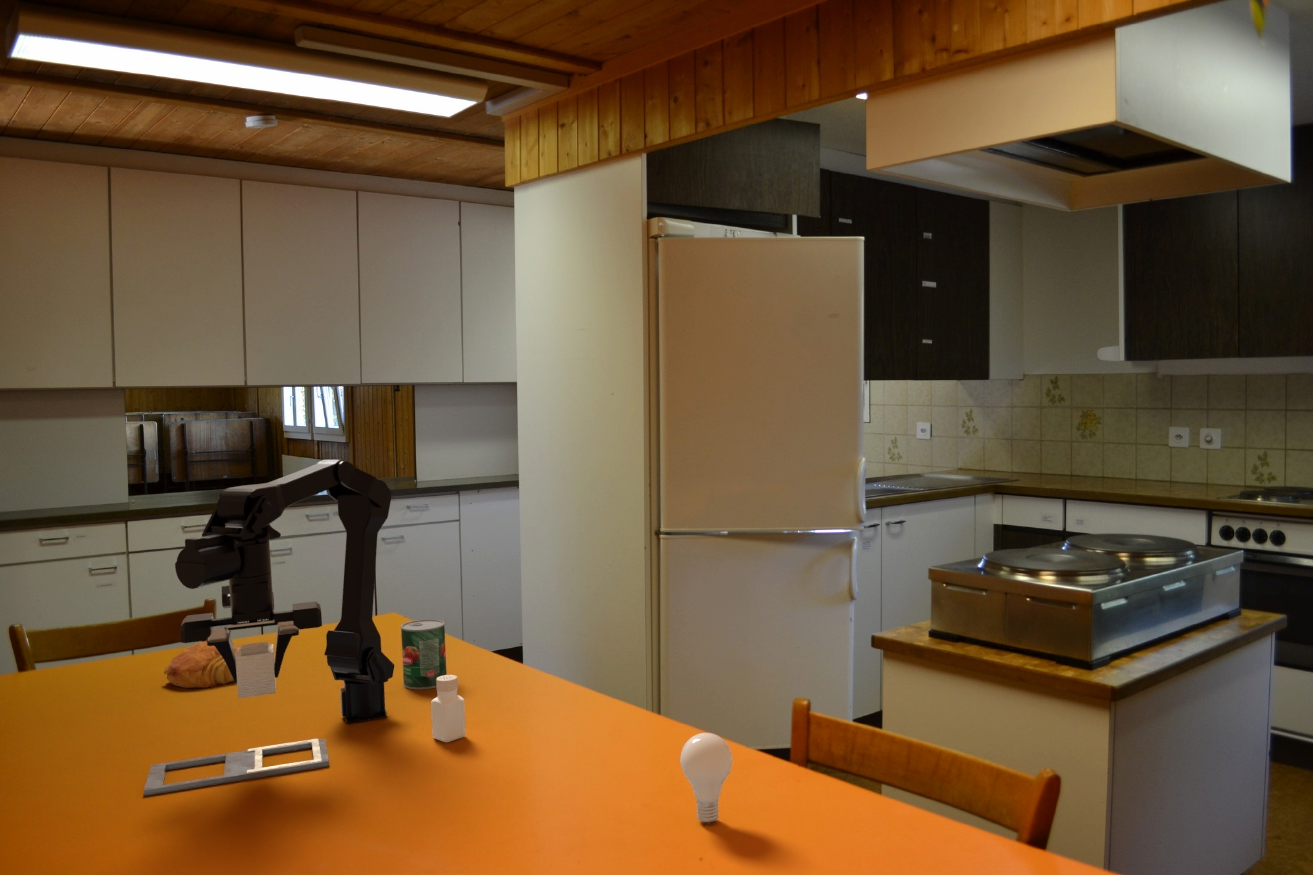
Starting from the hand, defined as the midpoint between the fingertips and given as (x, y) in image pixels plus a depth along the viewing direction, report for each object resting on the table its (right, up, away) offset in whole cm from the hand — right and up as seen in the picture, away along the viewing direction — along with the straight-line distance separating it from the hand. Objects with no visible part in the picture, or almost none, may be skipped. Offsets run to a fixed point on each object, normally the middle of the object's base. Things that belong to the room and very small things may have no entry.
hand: (256, 679), depth 144 cm
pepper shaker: (+26, -12, +10) cm, 30 cm away
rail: (-2, -13, -1) cm, 13 cm away
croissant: (-28, -11, +46) cm, 55 cm away
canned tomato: (+16, -10, +39) cm, 43 cm away
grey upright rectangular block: (0, -2, 0) cm, 2 cm away
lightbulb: (+65, -12, -22) cm, 69 cm away
